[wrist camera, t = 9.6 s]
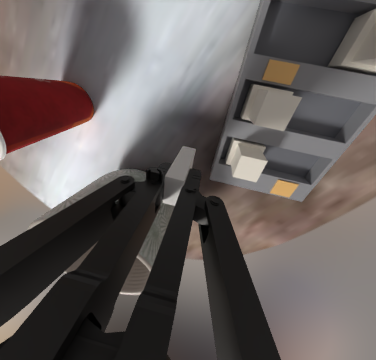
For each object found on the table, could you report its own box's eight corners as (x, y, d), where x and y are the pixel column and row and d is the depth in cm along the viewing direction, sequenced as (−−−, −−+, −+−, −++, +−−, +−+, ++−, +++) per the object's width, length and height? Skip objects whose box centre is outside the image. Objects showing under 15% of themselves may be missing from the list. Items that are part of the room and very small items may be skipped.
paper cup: (57, 58, 20) (-161, 26, 9) (107, 100, 22) (-17, 121, 10) (49, 106, 24) (-106, 127, 13) (91, 138, 26) (-10, 182, 15)
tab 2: (250, 84, 17) (262, 84, 12) (286, 91, 16) (312, 94, 12) (240, 115, 19) (246, 126, 14) (271, 122, 18) (288, 135, 14)
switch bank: (274, -49, 12) (290, -86, 10) (450, -23, 12) (522, -56, 9) (210, 169, 25) (209, 180, 22) (292, 188, 24) (302, 202, 22)
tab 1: (232, 135, 20) (236, 151, 15) (262, 142, 20) (274, 160, 15) (225, 157, 22) (226, 177, 17) (251, 163, 22) (260, 185, 17)
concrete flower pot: (133, 135, 24) (41, 191, 12) (201, 199, 29) (186, 285, 17) (94, 186, 33) (17, 249, 20) (152, 228, 38) (118, 300, 25)
